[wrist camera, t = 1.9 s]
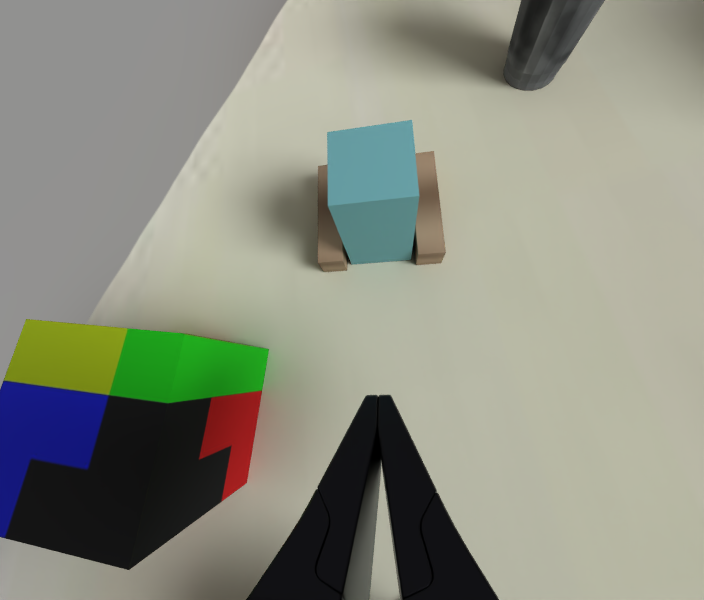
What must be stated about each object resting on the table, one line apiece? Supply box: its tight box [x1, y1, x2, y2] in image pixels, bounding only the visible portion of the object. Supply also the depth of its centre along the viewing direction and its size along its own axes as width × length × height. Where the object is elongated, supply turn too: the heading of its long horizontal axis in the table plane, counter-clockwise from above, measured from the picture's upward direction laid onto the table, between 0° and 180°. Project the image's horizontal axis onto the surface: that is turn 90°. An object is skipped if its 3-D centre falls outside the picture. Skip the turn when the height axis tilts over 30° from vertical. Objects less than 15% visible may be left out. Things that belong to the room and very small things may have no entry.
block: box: [327, 120, 419, 264], centre depth 21 cm, size 5×5×9 cm
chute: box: [318, 151, 446, 272], centre depth 24 cm, size 9×10×2 cm
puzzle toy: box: [0, 319, 269, 570], centre depth 19 cm, size 10×10×10 cm
